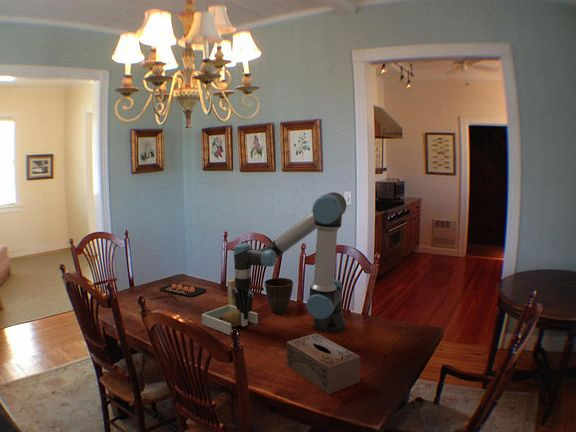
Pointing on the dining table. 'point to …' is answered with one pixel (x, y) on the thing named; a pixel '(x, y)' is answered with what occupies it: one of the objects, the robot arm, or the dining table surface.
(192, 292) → the sushi plate
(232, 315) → the potato
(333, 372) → the tissue box cover
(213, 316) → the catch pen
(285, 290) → the plant pot
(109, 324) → the dining table surface
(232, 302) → the candy box
